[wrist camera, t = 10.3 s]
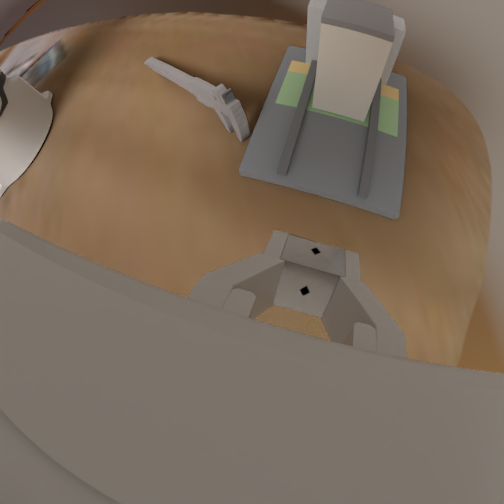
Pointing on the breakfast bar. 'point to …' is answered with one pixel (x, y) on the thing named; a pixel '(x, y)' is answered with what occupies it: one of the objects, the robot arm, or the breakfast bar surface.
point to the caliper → (208, 97)
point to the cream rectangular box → (351, 56)
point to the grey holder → (332, 133)
